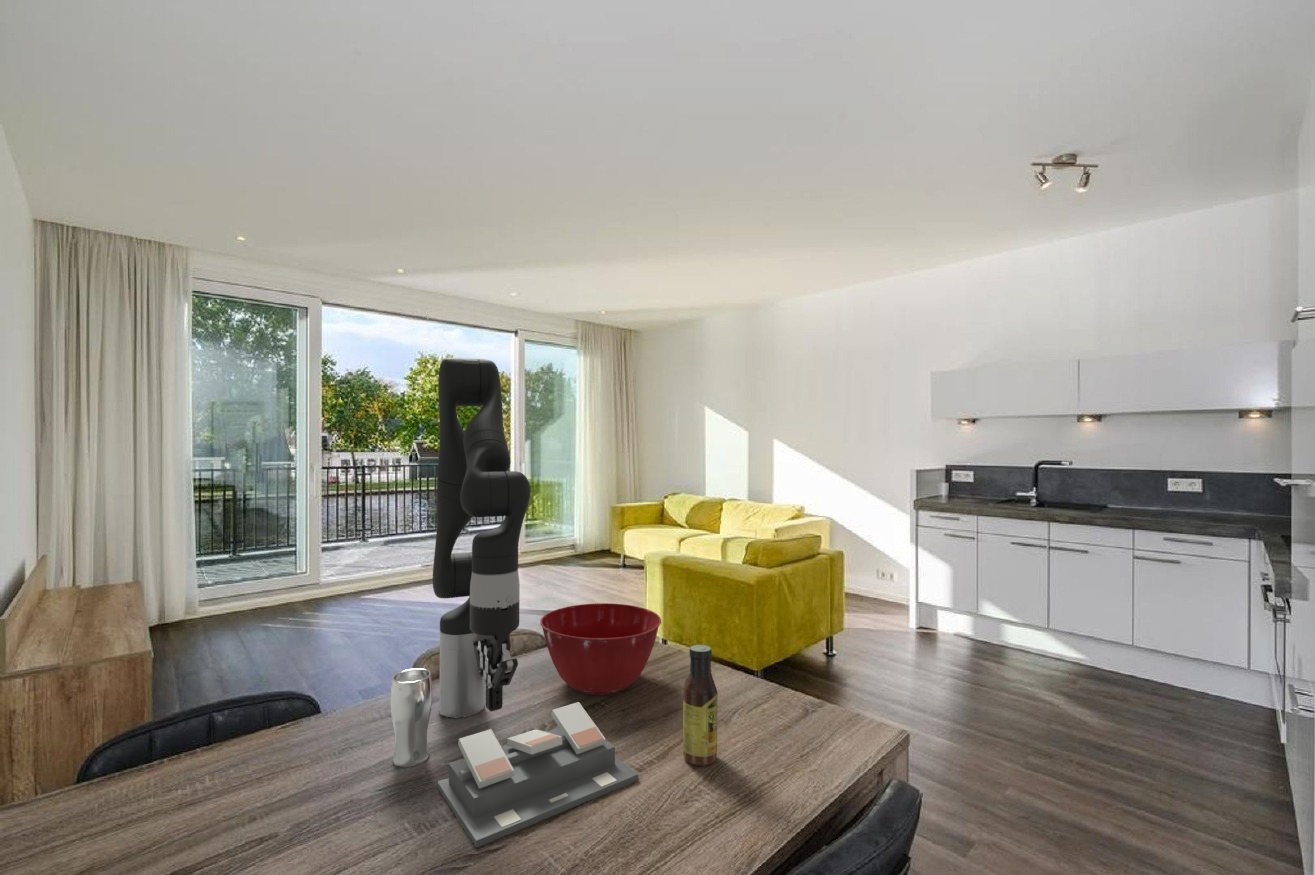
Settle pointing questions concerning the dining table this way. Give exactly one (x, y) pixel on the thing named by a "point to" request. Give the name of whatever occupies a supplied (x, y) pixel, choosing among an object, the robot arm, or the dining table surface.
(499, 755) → the switch
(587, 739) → the switch
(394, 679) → the beer glass
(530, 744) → the switch
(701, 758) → the sauce bottle
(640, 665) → the mixing bowl
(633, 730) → the dining table surface
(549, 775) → the switch box
